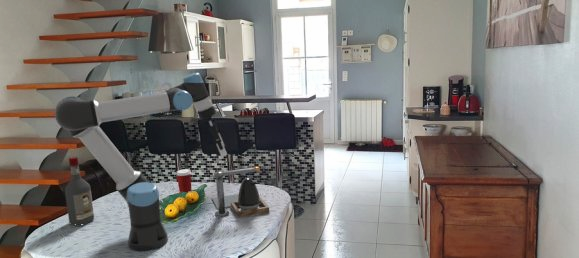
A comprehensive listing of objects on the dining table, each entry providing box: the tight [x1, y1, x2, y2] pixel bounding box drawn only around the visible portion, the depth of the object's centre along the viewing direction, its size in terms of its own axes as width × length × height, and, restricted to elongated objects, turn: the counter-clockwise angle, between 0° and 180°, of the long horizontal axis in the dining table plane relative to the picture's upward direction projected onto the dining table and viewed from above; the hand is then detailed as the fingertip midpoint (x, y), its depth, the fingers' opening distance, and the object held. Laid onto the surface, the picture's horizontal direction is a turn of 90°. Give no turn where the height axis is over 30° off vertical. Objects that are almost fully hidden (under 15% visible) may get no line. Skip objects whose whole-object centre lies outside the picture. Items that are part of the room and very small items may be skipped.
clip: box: [213, 166, 261, 178], centre depth 210 cm, size 21×4×2 cm, turn 108°
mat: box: [211, 193, 239, 211], centre depth 227 cm, size 16×16×1 cm
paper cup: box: [175, 168, 192, 194], centre depth 236 cm, size 8×8×14 cm
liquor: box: [64, 156, 95, 226], centre depth 208 cm, size 9×9×30 cm
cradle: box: [230, 196, 270, 219], centre depth 215 cm, size 15×15×2 cm
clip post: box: [214, 176, 230, 218], centre depth 209 cm, size 6×6×18 cm
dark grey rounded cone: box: [238, 177, 260, 211], centre depth 214 cm, size 10×10×15 cm
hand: (223, 151), depth 206 cm, fingers open, 13 cm apart
